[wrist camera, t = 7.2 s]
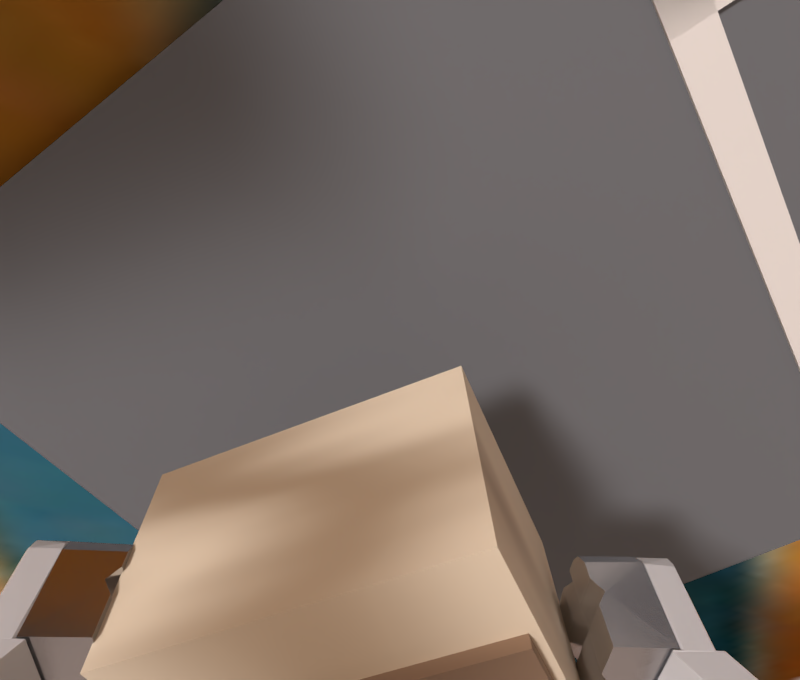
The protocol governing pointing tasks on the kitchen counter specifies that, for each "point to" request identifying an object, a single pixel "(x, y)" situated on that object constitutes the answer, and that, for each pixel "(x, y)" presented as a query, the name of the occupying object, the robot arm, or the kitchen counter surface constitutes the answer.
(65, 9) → the kitchen counter surface
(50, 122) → the kitchen counter surface
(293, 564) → the taped cardboard box
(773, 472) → the rubber mat
